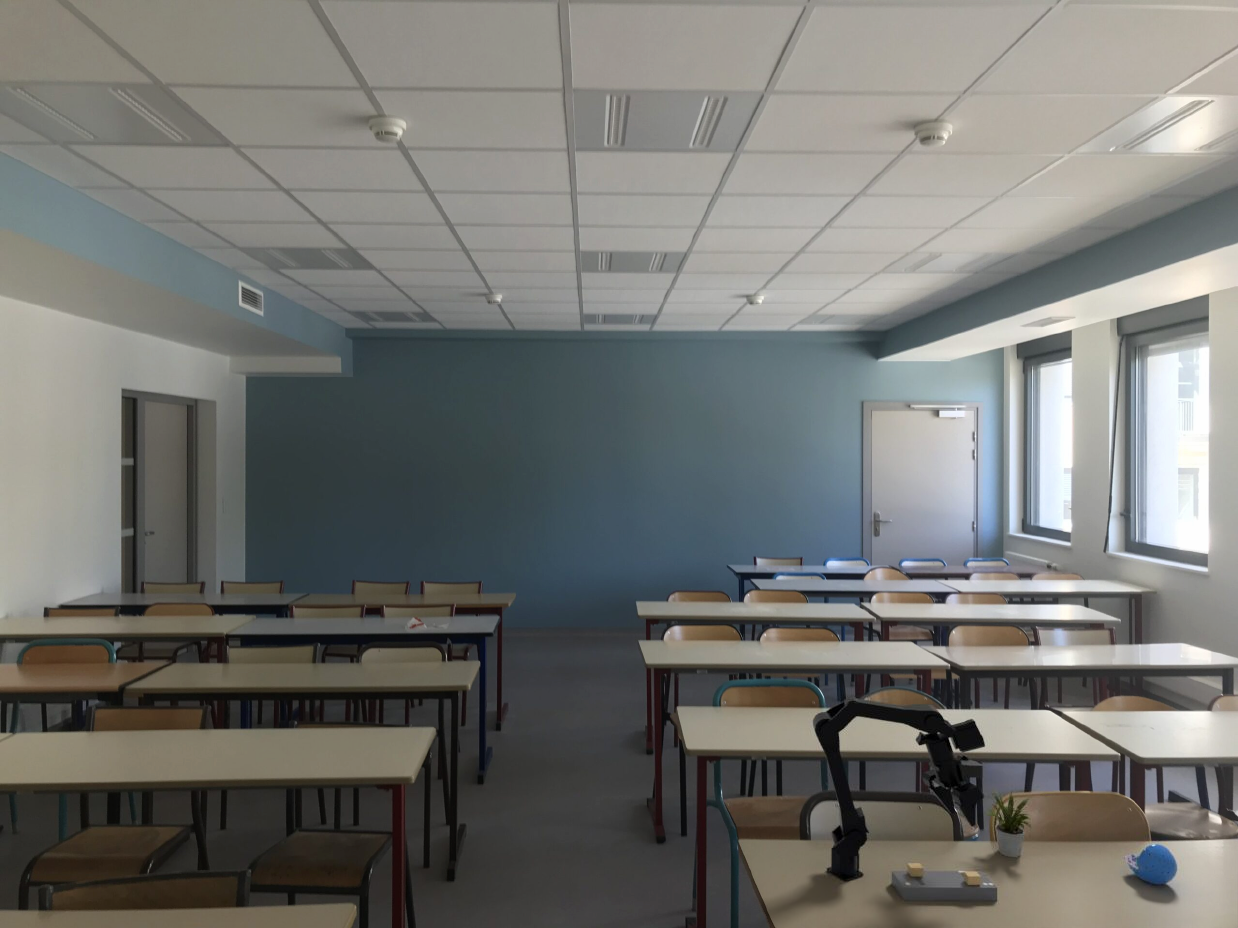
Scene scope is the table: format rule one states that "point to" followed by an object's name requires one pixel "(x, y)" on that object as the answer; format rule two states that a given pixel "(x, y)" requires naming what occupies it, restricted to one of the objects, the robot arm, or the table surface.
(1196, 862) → the table surface
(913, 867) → the outlet switch
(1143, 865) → the cell model
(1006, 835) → the house plant
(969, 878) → the outlet switch
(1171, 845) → the table surface
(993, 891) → the grey slider switch box
